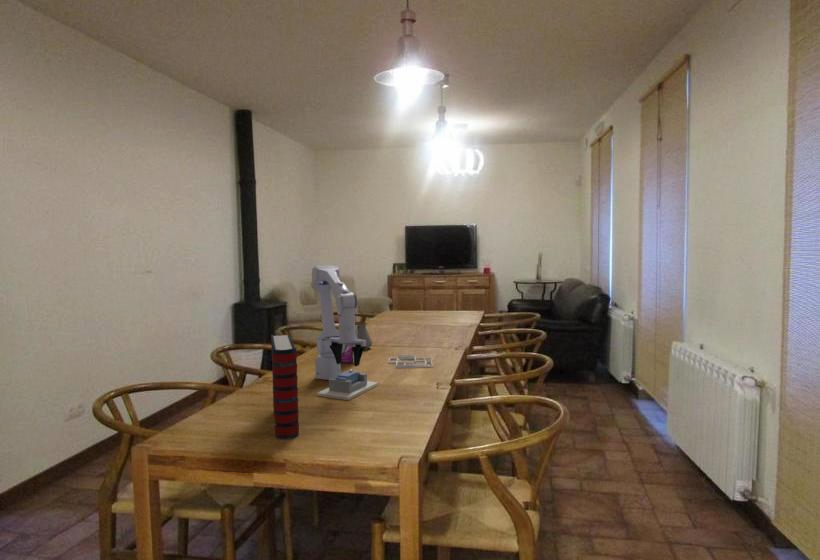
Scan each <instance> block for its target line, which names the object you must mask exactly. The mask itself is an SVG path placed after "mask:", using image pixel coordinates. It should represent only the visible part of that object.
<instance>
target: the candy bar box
mask: <svg viewBox="0 0 820 560" xmlns="http://www.w3.org/2000/svg"><path fill="white" fill-rule="evenodd" d="M335 329H336V330H337V331H339V323H335ZM355 338H357V339H358V326H357V325H355ZM354 346H355V345H346V344H345V349H344V352H343V353H342V361H341V363H345V364H346V363H347V364H354V353H353V350H352V347H354Z"/></svg>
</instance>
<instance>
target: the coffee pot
mask: <svg viewBox="0 0 820 560" xmlns="http://www.w3.org/2000/svg"><path fill="white" fill-rule="evenodd" d="M355 325H357V326H358V339H361V340H366V346H365V349H364V351H365V350H368V349H369V348H370V347H371V346H372V345H373V341H372V338H371V336H370V334H369V332H368V329H367V328H366V326H367V321H355Z"/></svg>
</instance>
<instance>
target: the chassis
mask: <svg viewBox="0 0 820 560" xmlns="http://www.w3.org/2000/svg"><path fill="white" fill-rule="evenodd" d="M377 386H379V382H377V381H376V382H375V381H370V380H368V374H367V373H362V372H360V374H359V375H358V382H356V383H353V384H352V381H350V380H346V381H343V380H336V379H334V378H331V379H329V380H328V387H326V388H325V389H323V390H320V391H318V392H317V393H316V396H318V397H324V398H330V399H338V400H343V401H344V400H345V401H351V400H353V399H354V398H356V397H358V396H360V395H362V394H364V393H366V392H367V391H370V390H371V389H373V388H375V387H377Z"/></svg>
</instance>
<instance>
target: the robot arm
mask: <svg viewBox="0 0 820 560" xmlns="http://www.w3.org/2000/svg"><path fill="white" fill-rule="evenodd" d="M340 276H341V275H340V268H339V266H338V265H337V264H334V265H314V266H313V267H312V270H311V278H312V279H311V280H312V282H311V283H312V286H313V289H314V290H315V289H316V290H317V293H318V300H319V308H320V317H321V324H322V332H320V333H319V334H318V335H317V337H316V350H317V353H318V355H316V358H315V376H314V379H318V380H327V381H329V379H331V378H334V379H335V378H336V377H338V375H339V374H342V371H341V369H342V368H341V364H342V362H341V361H342V353H343V352H344V349H345V344H346V345H355V346H354V347H352V350H353V353H354V363H353V364H354V367H358V366H360V363H361V359H362V355H363V352H364V351H365V350H366V349H365V346H366V340H361V339H357V338H355V322H356V317H355V316H356V314H355V312H356V310H355V309H357V307H358V297H357V295H356V293H355V292H351V291H350V290H349V289H348V287H347V285H346V284H345V283H344V282H343V281H341V280H340ZM332 296H333V297H334V299H335V305H336V312H337V315H338V324H339V331H337V330H336V329H335V324H336V323H335V315H334V308H333V300H332ZM364 349H365V350H364Z"/></svg>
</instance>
